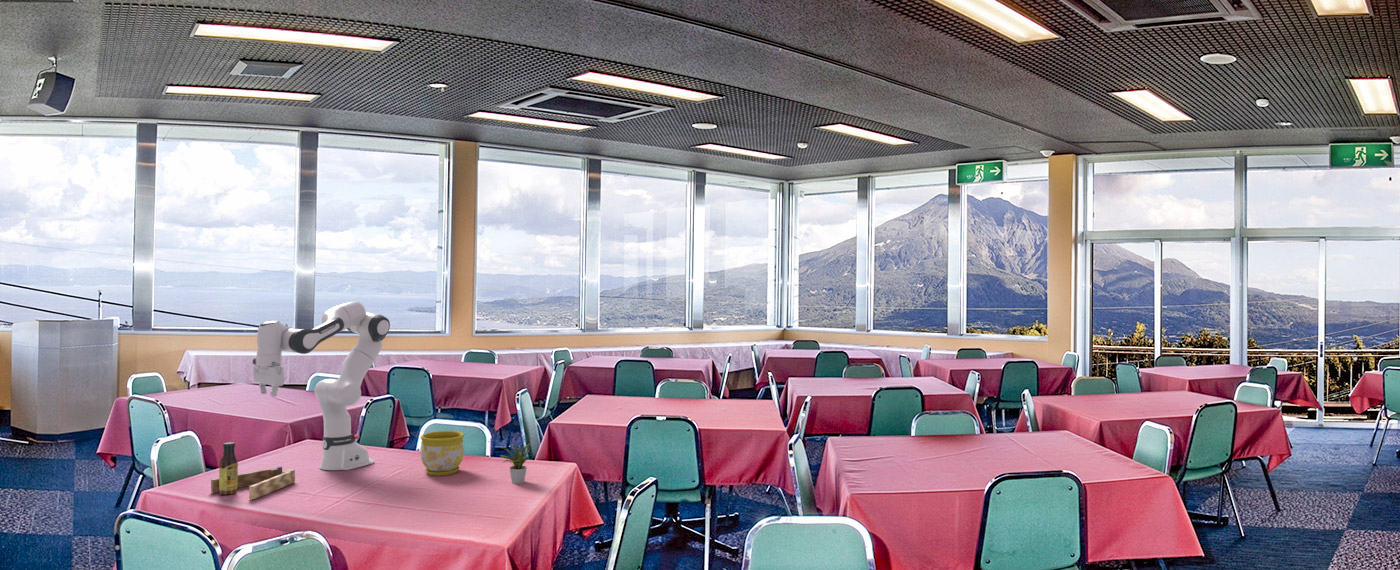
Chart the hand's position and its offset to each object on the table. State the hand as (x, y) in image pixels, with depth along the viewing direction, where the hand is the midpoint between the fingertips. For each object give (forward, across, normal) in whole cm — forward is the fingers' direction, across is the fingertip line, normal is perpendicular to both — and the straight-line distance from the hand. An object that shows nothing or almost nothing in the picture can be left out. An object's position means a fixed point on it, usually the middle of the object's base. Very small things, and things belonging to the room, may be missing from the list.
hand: (268, 395), depth 322 cm
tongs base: (+37, +4, +5) cm, 38 cm away
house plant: (+36, -69, -72) cm, 106 cm away
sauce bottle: (+38, +2, +14) cm, 40 cm away
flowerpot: (+36, -32, -60) cm, 77 cm away
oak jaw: (+37, -7, +1) cm, 38 cm away
